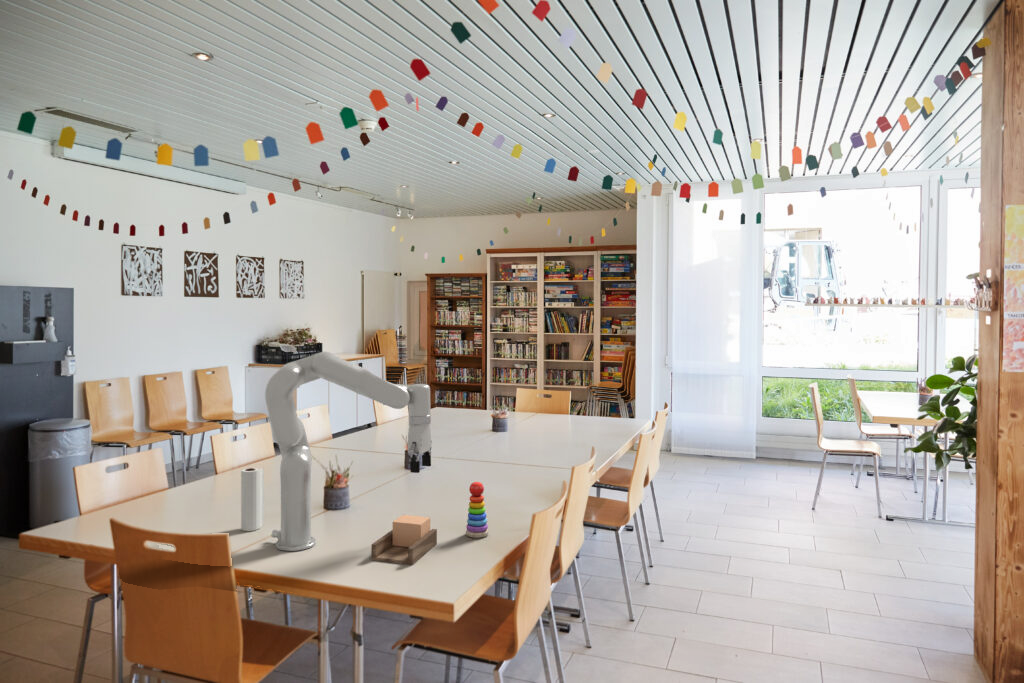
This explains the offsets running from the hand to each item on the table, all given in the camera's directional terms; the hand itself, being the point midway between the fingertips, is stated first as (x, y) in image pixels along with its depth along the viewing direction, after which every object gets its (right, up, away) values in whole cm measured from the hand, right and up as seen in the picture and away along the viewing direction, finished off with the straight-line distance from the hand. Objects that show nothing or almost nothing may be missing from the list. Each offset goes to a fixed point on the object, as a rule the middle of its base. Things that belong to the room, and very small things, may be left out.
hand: (420, 469), depth 235 cm
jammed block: (-2, -23, -10) cm, 25 cm away
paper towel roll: (-61, -23, +6) cm, 65 cm away
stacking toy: (+19, -24, +3) cm, 31 cm away
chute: (-3, -24, -15) cm, 28 cm away
